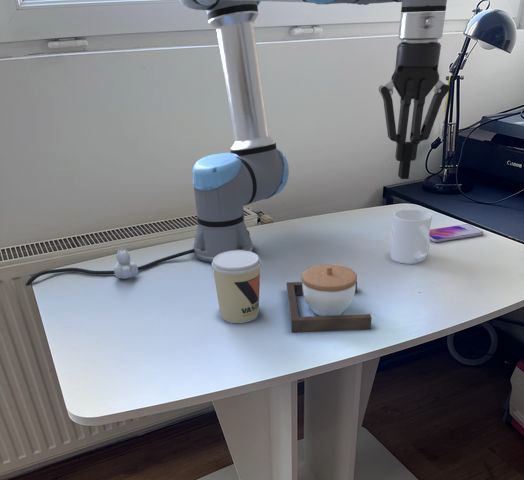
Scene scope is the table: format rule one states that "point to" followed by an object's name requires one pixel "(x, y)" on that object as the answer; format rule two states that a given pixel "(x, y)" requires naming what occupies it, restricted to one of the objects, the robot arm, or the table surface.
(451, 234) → the smartphone
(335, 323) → the bay
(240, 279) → the coffee cup
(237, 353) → the table surface
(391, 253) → the mug
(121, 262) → the grey lumpy figure
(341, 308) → the trinket box
